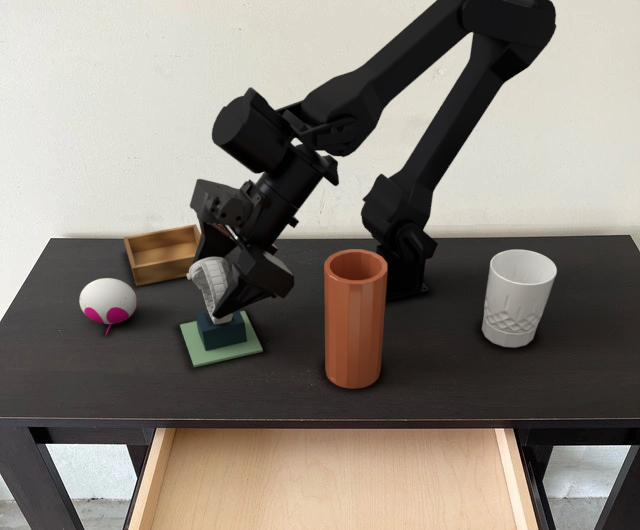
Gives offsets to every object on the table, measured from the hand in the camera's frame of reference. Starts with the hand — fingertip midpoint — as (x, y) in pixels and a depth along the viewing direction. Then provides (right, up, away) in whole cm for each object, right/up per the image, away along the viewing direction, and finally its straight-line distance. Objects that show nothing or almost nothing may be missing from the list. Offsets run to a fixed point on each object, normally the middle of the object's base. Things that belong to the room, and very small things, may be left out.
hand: (202, 297), depth 81 cm
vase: (+19, -9, +1) cm, 21 cm away
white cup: (+39, -4, +6) cm, 40 cm away
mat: (+1, -4, +5) cm, 7 cm away
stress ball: (-14, -2, +9) cm, 16 cm away
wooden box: (-8, +9, +19) cm, 22 cm away
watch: (+2, -4, +5) cm, 7 cm away
